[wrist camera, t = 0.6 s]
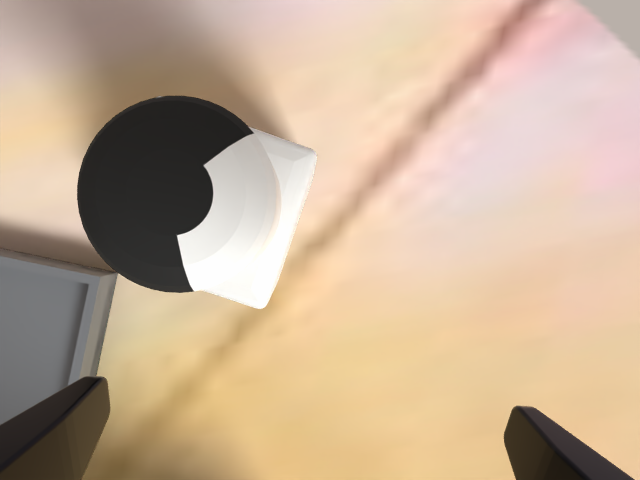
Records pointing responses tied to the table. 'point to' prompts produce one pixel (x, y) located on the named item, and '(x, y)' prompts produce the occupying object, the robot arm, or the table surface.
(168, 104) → the medicine bottle
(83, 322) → the tray
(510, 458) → the robot arm
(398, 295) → the table surface
